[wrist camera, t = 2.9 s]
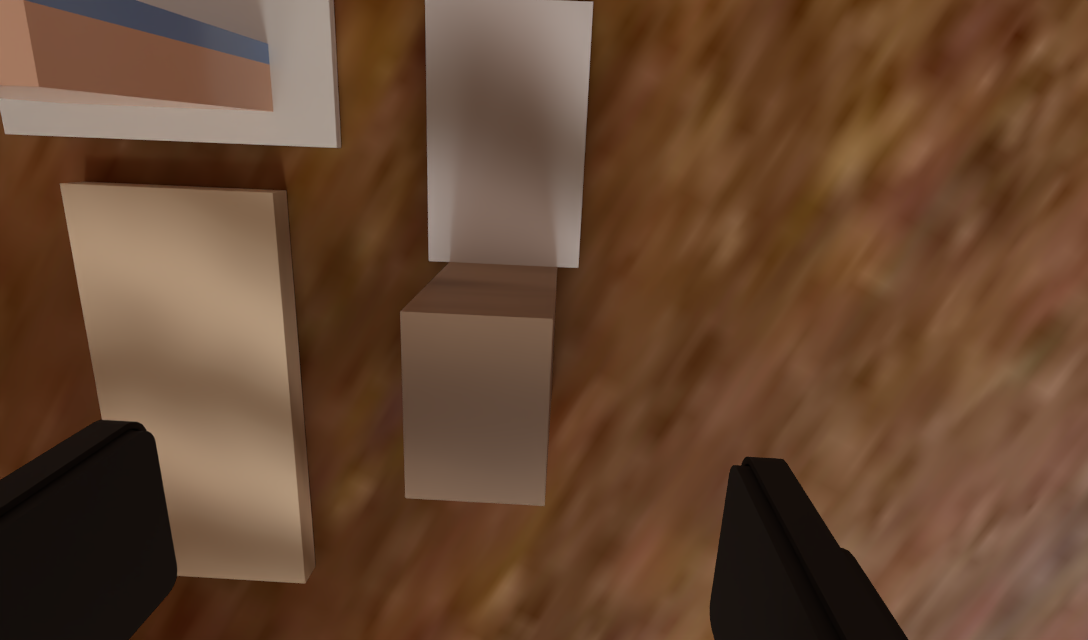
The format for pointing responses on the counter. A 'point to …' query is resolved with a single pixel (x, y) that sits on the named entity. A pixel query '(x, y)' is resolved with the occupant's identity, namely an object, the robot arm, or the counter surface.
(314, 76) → the mat
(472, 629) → the counter surface
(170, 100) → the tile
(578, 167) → the brown block
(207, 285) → the rest board
